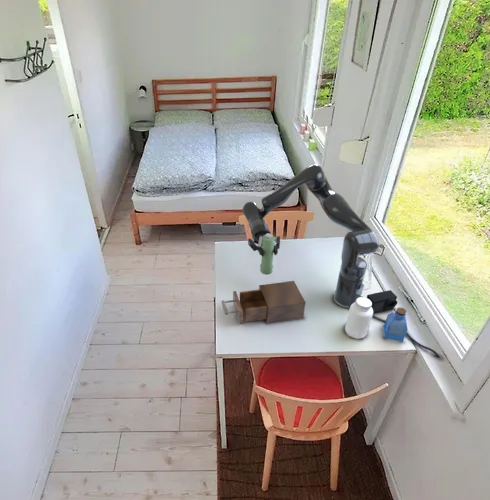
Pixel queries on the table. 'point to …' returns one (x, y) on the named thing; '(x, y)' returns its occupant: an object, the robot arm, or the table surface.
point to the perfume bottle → (396, 325)
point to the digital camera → (382, 301)
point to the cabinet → (283, 301)
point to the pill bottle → (359, 318)
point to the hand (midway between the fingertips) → (269, 253)
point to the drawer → (248, 306)
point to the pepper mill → (267, 254)
